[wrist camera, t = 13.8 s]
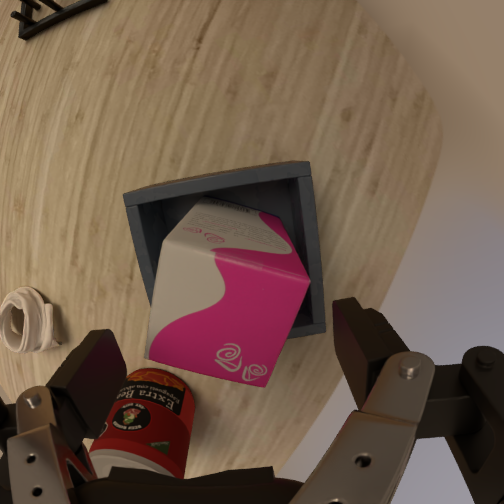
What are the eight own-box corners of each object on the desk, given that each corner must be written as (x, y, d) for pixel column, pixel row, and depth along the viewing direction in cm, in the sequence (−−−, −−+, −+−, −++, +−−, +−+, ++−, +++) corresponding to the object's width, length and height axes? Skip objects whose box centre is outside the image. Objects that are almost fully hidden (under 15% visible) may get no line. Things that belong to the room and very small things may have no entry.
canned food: (191, 367, 27) (170, 464, 16) (200, 425, 29) (188, 513, 19) (113, 361, 27) (67, 445, 16) (131, 419, 29) (102, 499, 18)
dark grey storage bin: (150, 185, 22) (122, 193, 17) (294, 160, 22) (309, 161, 17) (180, 315, 25) (165, 353, 20) (310, 296, 25) (326, 332, 20)
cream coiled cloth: (24, 339, 27) (1, 366, 23) (-1, 285, 25) (-29, 308, 20) (75, 342, 26) (52, 374, 22) (49, 280, 24) (18, 308, 19)
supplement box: (183, 270, 24) (137, 360, 13) (203, 193, 22) (161, 228, 11) (258, 291, 24) (266, 393, 13) (282, 216, 22) (317, 273, 11)
